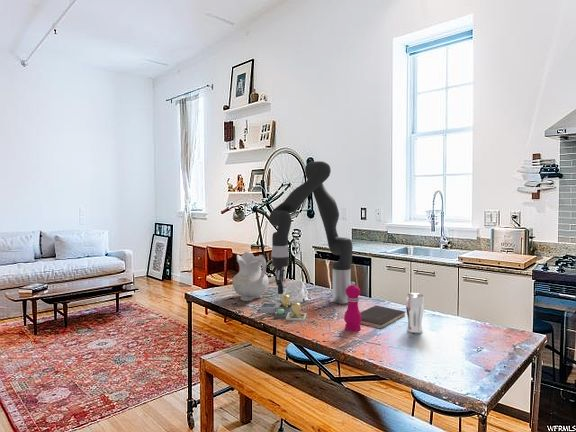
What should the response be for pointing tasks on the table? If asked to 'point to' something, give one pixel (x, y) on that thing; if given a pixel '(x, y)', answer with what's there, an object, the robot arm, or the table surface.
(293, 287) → the skull bowl
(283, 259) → the robot arm
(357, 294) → the pepper mill
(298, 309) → the billet
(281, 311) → the button
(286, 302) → the billet
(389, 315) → the hardcover book
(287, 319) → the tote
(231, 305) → the table surface
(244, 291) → the ceramic pitcher
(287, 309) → the tray
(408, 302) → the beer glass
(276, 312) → the console
